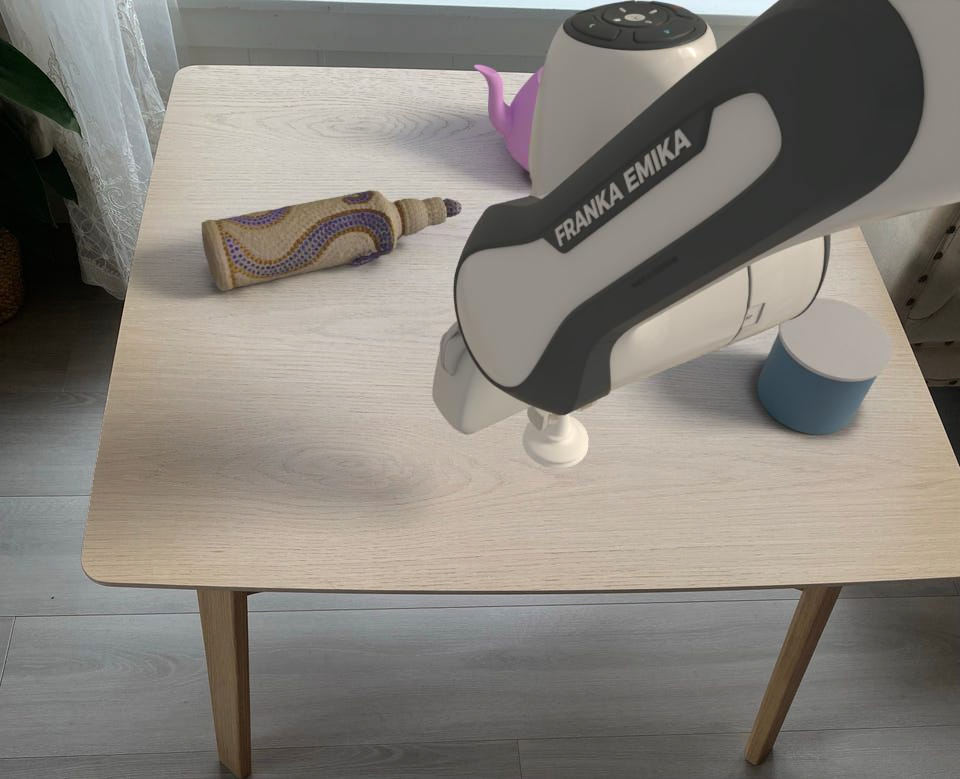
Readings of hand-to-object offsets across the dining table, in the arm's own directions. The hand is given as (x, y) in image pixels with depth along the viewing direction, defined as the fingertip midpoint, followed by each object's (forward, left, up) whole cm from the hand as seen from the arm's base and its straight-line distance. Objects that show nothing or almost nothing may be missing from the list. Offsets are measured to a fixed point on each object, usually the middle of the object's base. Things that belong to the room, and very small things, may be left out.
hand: (561, 411), depth 68 cm
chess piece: (0, 0, -4) cm, 4 cm away
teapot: (+47, -6, -13) cm, 49 cm away
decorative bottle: (+29, +18, -13) cm, 37 cm away
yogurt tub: (+12, -26, -13) cm, 31 cm away
